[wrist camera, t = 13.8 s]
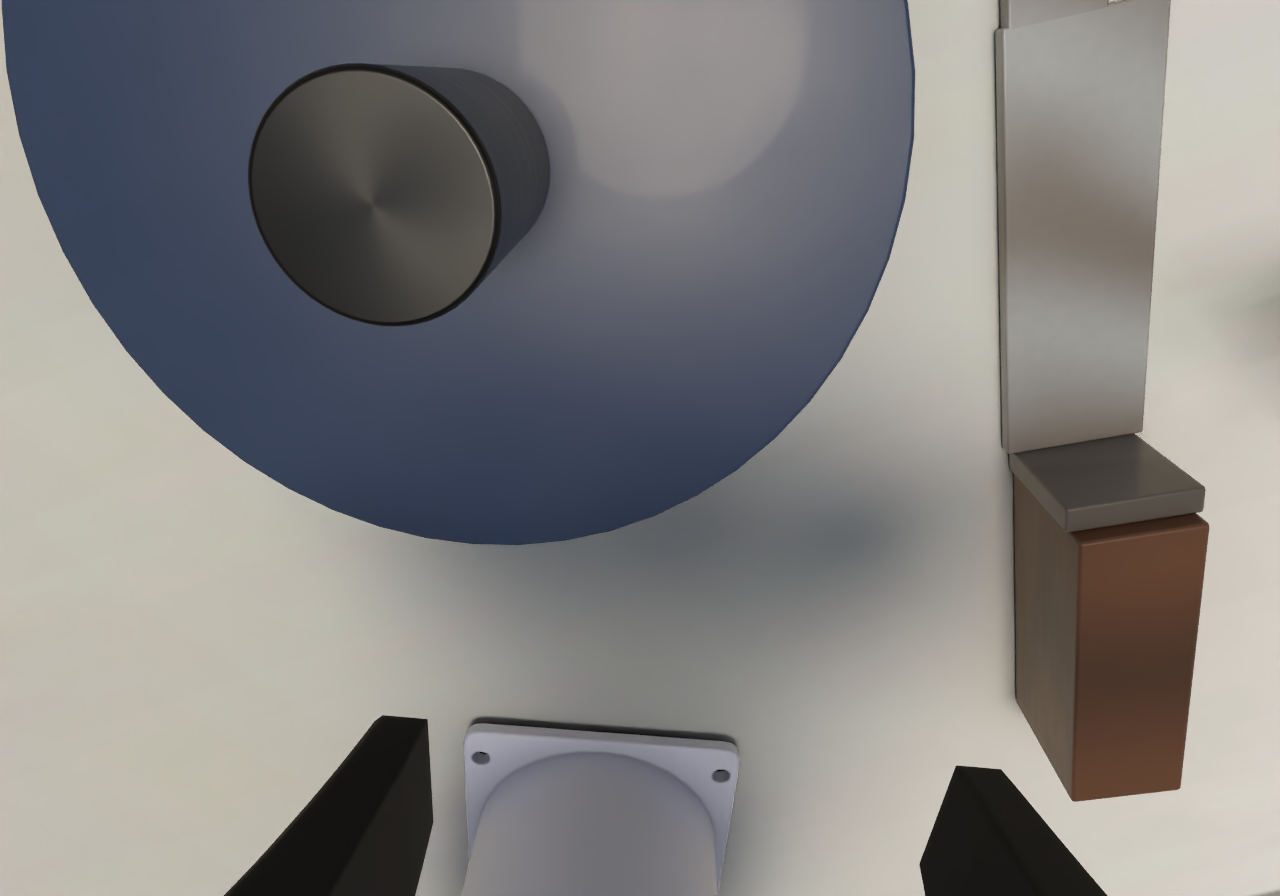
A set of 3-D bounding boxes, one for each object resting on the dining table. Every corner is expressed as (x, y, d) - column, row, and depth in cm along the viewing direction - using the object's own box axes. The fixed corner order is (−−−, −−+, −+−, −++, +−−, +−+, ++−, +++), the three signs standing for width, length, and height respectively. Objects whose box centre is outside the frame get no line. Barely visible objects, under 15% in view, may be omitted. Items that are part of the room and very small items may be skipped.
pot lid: (818, 534, 13) (882, 728, 9) (157, 485, 13) (-61, 658, 9) (988, -353, 8) (1273, -738, 4) (-48, -430, 8) (-682, -881, 4)
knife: (1118, 688, 22) (1192, 789, 19) (1006, 703, 22) (1061, 804, 19) (1166, -117, 14) (1309, -173, 11) (992, -74, 14) (1082, -117, 11)
